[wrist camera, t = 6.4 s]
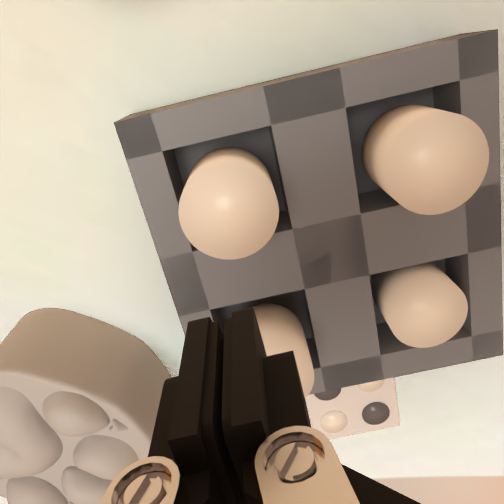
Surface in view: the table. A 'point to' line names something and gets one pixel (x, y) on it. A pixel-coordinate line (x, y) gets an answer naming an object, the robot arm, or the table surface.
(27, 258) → the table surface
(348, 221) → the button board
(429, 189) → the button
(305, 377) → the button
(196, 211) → the button
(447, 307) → the button
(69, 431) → the lumpy-topped squat cylinder
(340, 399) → the card
